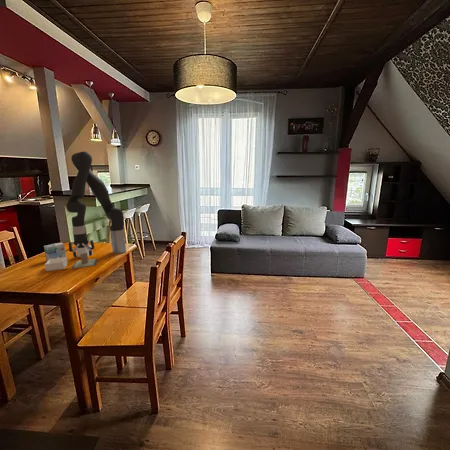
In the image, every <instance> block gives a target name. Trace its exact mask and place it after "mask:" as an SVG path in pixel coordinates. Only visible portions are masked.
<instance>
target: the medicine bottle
mask: <svg viewBox="0 0 450 450" xmlns="http://www.w3.org/2000/svg"><path fill="white" fill-rule="evenodd" d="M88 245H89V244H88ZM89 247H91V244H90V245H89ZM91 248H92V247H91ZM82 253H87V255H88V257H90V256H89V250H88V249H87V248H86V247H85V248H77V249H76V255H77V258H81V256H80V255H81V254H82ZM92 255H93V252H92Z"/></svg>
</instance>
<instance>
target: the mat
mask: <svg viewBox="0 0 450 450" xmlns="http://www.w3.org/2000/svg"><path fill="white" fill-rule="evenodd" d="M98 261H99V259H98V258H97V259H96V260H95V263H94V265H93V266H92V267H95V266H97V264H98ZM76 262H77V261H75V262H74V263H73V265H72V267H71V268H70V269H71V270H72V269H75V268H74V266H75V264H76ZM86 267H89V266H86ZM86 267H85V268H86ZM80 268H82V267H78V268H77V269H80Z"/></svg>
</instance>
